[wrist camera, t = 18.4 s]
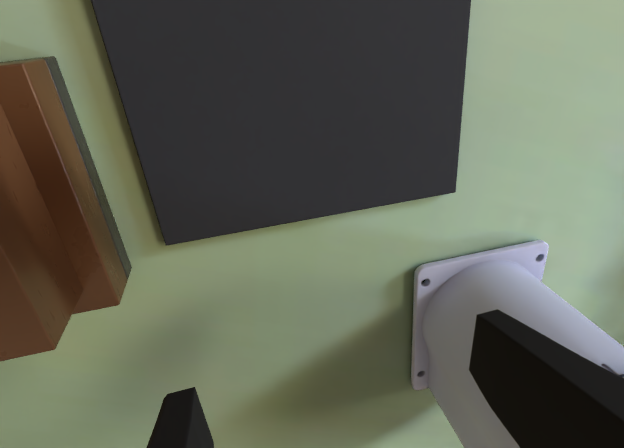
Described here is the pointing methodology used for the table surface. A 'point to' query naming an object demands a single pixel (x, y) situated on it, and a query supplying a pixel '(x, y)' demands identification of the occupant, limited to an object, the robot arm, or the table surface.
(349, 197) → the mat
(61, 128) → the brown stepped block
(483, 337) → the robot arm
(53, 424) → the table surface
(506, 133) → the table surface
